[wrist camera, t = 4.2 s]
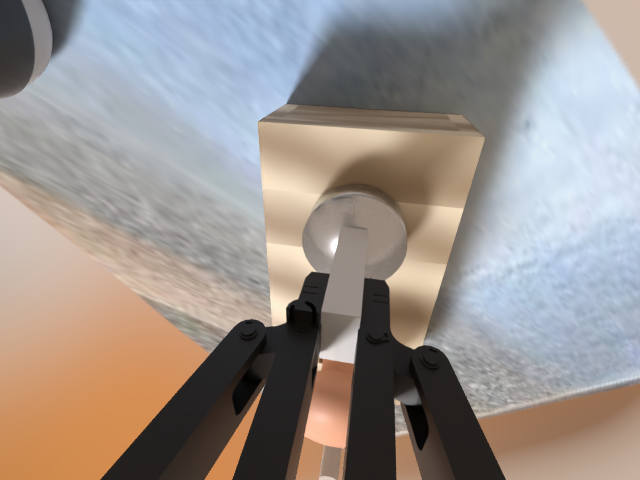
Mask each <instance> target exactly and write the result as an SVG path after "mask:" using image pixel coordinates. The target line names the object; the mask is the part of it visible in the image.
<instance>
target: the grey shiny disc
mask: <svg viewBox="0 0 640 480" xmlns="http://www.w3.org/2000/svg"><path fill="white" fill-rule="evenodd" d="M341 227H350V228H359V229H368V241H367V253H366V265H365V276H364V278H371V279H378V280H386V279H388V278H389V277H391V276H392V275H393V274H394V273H395V272H396V271H397V270H398V269H399V268H400V266H401V265H402V263H403V261H404V259H405V256H406V253H407V235H406V226H405V220H404V216H403V213H402V211H401V209H400V207H399V206H398V204H397V203H396V201H395V200H394V199H393V198H392V197H391V196H389V195H388V194H387V193H385V192H384V191H382V190H380V189H378V188H375V187H373V186H369V185H364V184H346V185H342V186H338V187H336V188H333V189H331V190H329V191H328V192H326V193H325V194H323V195H322V196H321V197H320V198H319V199H318V201H317V202H316V203H315V205H314V206H313V208H312V211H311V213H310V215H309V217H308V220H307V222H306V224H305V227H304V230H303V234H302V246H303V251H304V254H305V256H306V258H307V260H308V262H309V263H310V265H311V266H312V267H313V268H314V269H315V270H316V271H317V272H320V273H327V274H330V272H331V268H332V263H333V259H334V255H335V251H336V246H337V242H338V238H339V234H340V229H341Z"/></svg>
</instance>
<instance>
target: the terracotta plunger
mask: <svg viewBox="0 0 640 480" xmlns="http://www.w3.org/2000/svg"><path fill="white" fill-rule="evenodd" d="M353 368H354V364H352V363H346V362H340V361H334V360H328V359H323V363H322V368H321V371H317V375H316V380H315V385H314V390H313V394H312V399H311V404H310V409H309V414H308V419H307V424H306V429H305V434H304V436H305V437H307V438H309V439H311V440H313V441H315V442H318V443H320V444H323V445H327V446H331V447H337V448H345V446H346V436H347V426H348V416H349V406H350V395H351V383H352V375H353Z"/></svg>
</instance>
